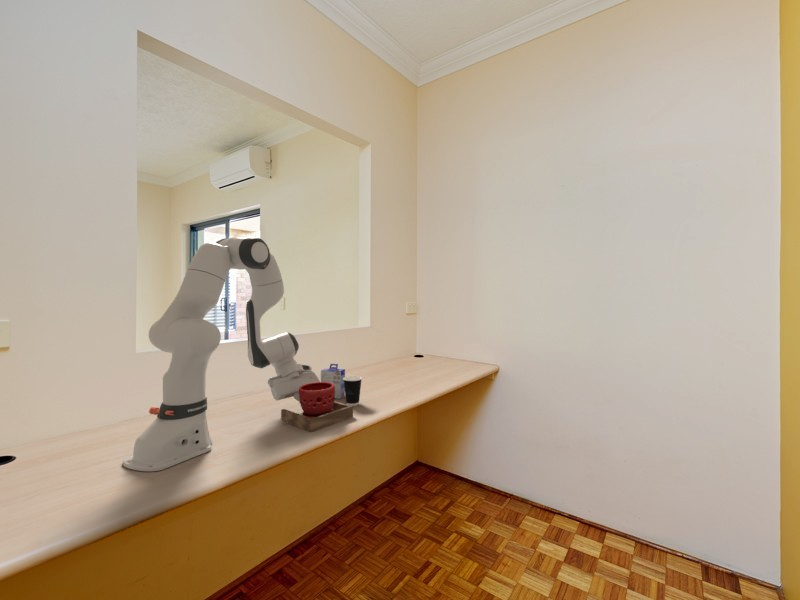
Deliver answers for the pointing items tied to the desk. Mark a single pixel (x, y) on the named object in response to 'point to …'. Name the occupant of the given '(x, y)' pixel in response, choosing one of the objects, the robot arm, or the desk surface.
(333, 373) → the ink cartridge box
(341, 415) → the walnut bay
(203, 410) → the robot arm
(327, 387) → the plant pot
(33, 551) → the desk surface
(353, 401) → the dixie cup
